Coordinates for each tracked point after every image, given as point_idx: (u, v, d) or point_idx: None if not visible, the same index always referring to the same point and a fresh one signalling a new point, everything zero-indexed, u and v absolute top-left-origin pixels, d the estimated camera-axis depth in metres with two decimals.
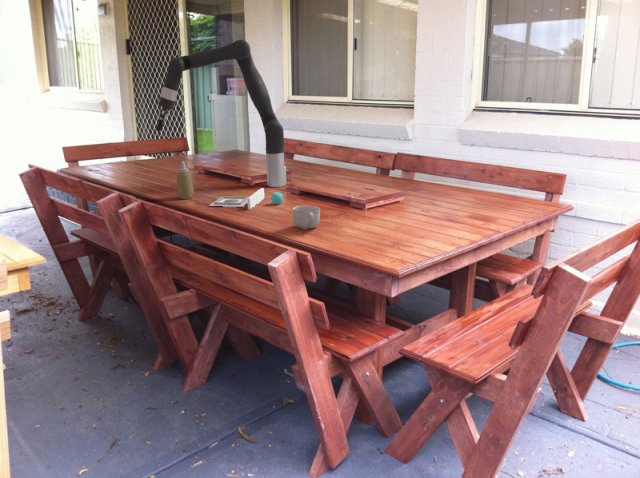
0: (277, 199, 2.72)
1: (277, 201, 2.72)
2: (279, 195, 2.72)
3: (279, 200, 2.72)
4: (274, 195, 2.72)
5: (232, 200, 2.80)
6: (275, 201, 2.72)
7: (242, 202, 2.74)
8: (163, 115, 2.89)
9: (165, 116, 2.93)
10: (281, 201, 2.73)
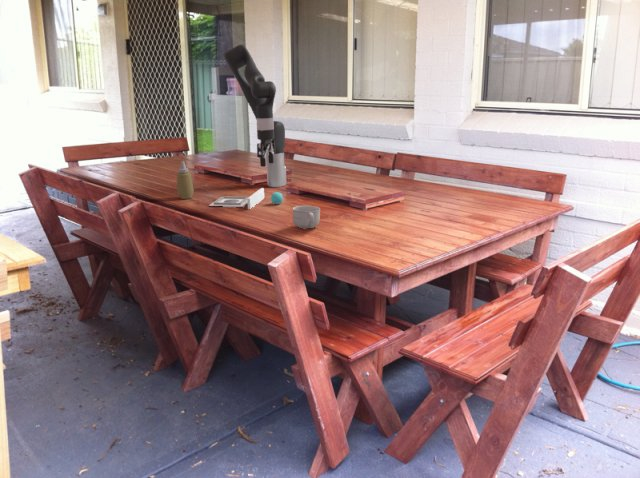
0: (277, 199, 2.72)
1: (277, 201, 2.72)
2: (279, 195, 2.72)
3: (279, 200, 2.72)
4: (274, 195, 2.72)
5: (232, 200, 2.80)
6: (275, 201, 2.72)
7: (242, 202, 2.74)
8: None
9: None
10: (281, 201, 2.73)
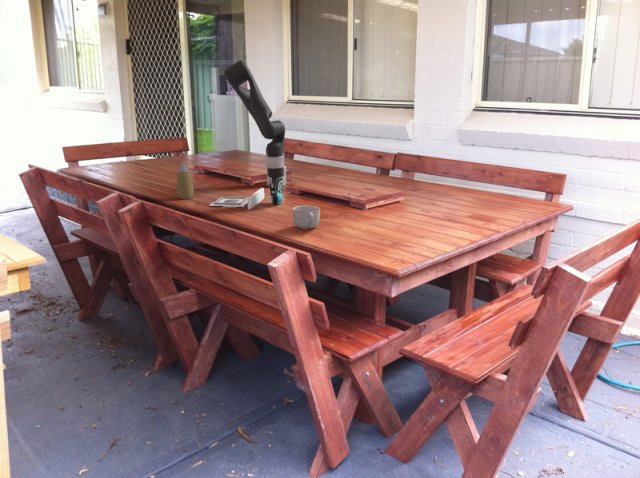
0: None
1: None
2: (279, 195, 2.72)
3: (279, 200, 2.72)
4: None
5: (232, 200, 2.80)
6: None
7: (242, 202, 2.74)
8: None
9: None
10: (281, 201, 2.73)
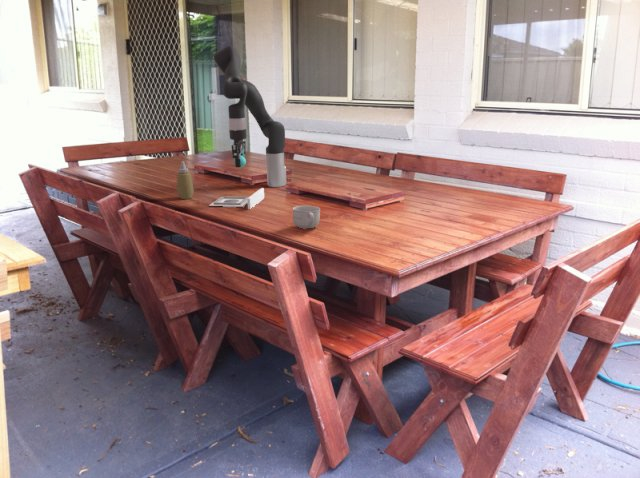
0: (240, 162, 2.70)
1: None
2: (242, 158, 2.70)
3: (242, 163, 2.70)
4: None
5: (232, 200, 2.80)
6: None
7: (242, 202, 2.74)
8: None
9: None
10: (244, 164, 2.71)
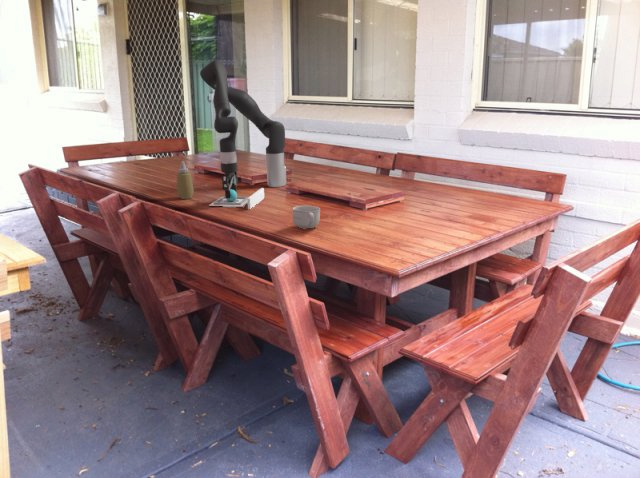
0: (231, 196, 2.75)
1: (231, 198, 2.76)
2: (233, 192, 2.76)
3: (233, 197, 2.76)
4: None
5: None
6: (229, 198, 2.76)
7: (242, 202, 2.74)
8: None
9: None
10: (235, 198, 2.77)
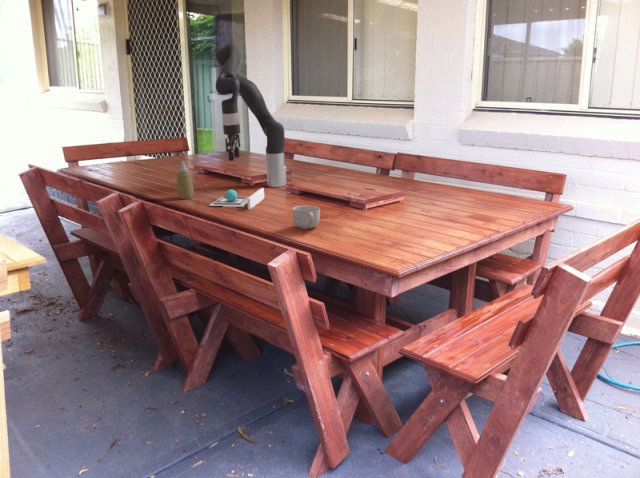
0: (231, 196, 2.75)
1: (231, 198, 2.76)
2: (233, 192, 2.76)
3: (233, 197, 2.76)
4: (228, 192, 2.76)
5: None
6: (229, 198, 2.76)
7: (242, 202, 2.74)
8: None
9: None
10: (235, 198, 2.77)
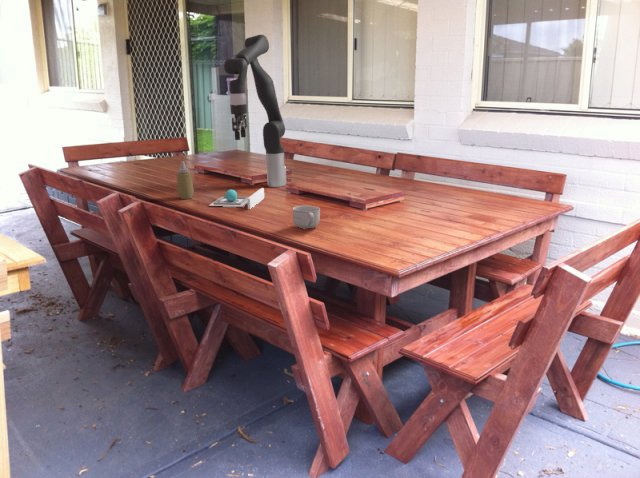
0: (231, 196, 2.75)
1: (231, 198, 2.76)
2: (233, 192, 2.76)
3: (233, 197, 2.76)
4: (228, 192, 2.76)
5: None
6: (229, 198, 2.76)
7: (242, 202, 2.74)
8: None
9: None
10: (235, 198, 2.77)
